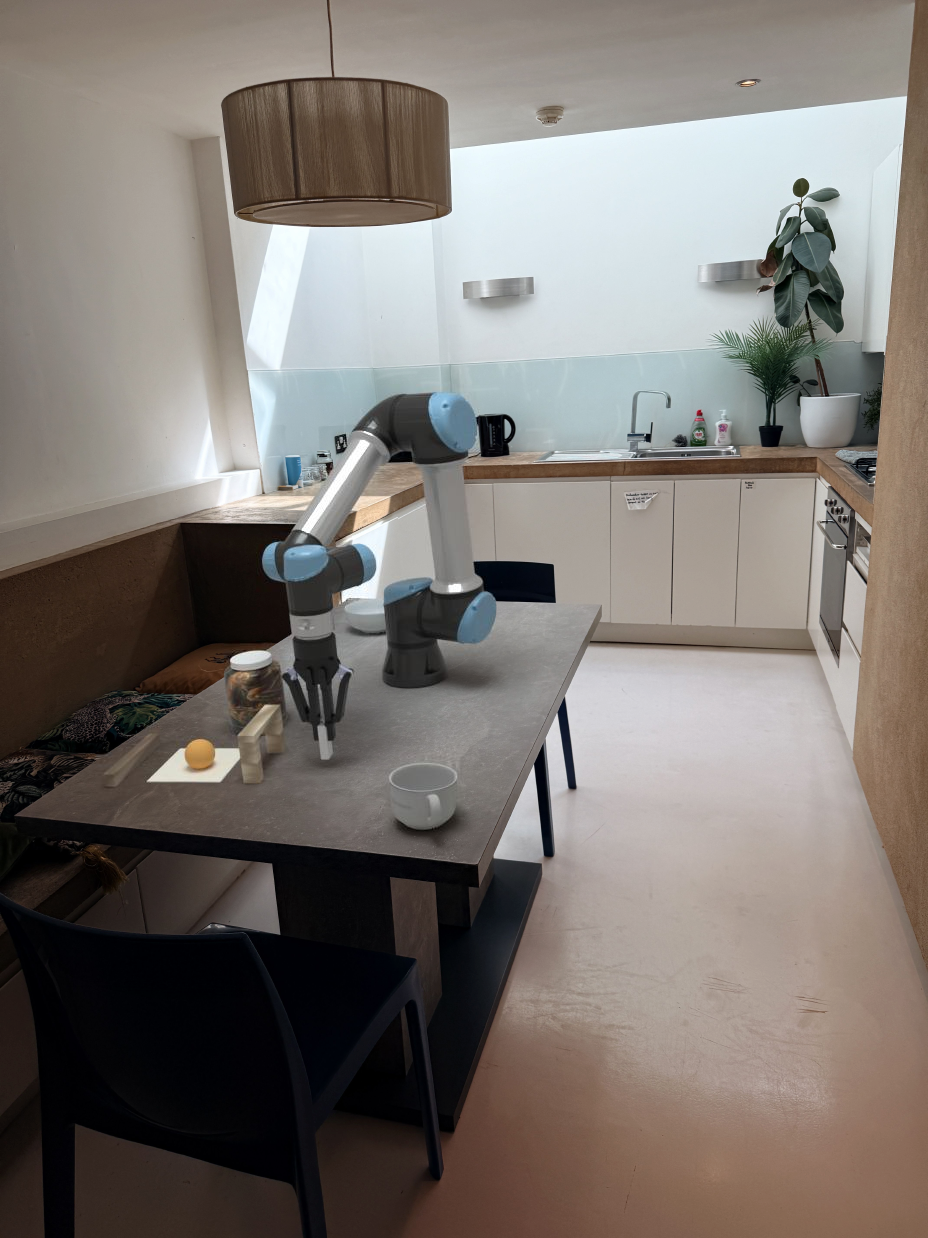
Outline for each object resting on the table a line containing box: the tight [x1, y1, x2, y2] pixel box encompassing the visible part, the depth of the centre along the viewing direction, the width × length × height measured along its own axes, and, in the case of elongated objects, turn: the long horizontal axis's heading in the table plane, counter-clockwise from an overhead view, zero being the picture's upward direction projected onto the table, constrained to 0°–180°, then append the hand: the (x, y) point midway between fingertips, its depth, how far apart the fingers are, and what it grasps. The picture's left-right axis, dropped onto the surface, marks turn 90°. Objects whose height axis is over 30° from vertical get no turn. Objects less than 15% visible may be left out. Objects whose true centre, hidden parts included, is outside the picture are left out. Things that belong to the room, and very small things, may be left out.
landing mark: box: [146, 747, 241, 784], centre depth 164 cm, size 14×14×1 cm
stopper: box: [102, 733, 162, 788], centre depth 165 cm, size 2×18×2 cm, turn 173°
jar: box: [223, 650, 288, 736], centre depth 179 cm, size 12×12×15 cm
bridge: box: [236, 705, 286, 784], centre depth 161 cm, size 3×14×9 cm, turn 173°
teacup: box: [388, 762, 459, 831], centre depth 137 cm, size 14×11×8 cm
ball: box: [185, 738, 215, 769], centre depth 162 cm, size 6×6×6 cm
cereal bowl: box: [344, 598, 386, 634], centre depth 243 cm, size 17×17×7 cm
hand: (326, 756), depth 160 cm, fingers closed
